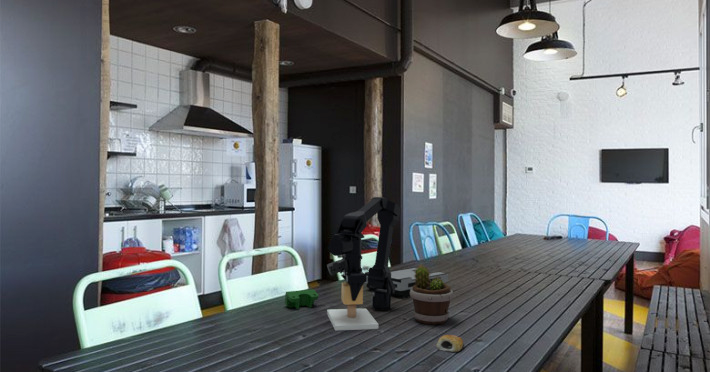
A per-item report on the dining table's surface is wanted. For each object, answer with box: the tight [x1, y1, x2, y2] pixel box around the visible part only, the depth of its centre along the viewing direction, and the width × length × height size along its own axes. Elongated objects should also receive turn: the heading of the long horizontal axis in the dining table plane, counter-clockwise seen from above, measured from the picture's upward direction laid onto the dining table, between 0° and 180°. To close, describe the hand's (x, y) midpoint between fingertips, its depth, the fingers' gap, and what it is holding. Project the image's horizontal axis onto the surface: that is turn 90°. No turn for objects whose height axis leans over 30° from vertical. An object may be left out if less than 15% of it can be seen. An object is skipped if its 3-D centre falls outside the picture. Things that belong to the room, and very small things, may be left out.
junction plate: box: [326, 304, 379, 332], centre depth 168 cm, size 14×20×6 cm
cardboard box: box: [340, 282, 364, 305], centre depth 168 cm, size 6×6×6 cm
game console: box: [364, 267, 449, 299], centre depth 219 cm, size 21×32×8 cm, turn 134°
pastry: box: [435, 334, 464, 353], centre depth 143 cm, size 9×7×4 cm
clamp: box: [284, 288, 319, 310], centre depth 185 cm, size 12×6×9 cm, turn 112°
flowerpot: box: [409, 262, 454, 325], centre depth 170 cm, size 14×15×20 cm
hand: (351, 298), depth 168 cm, fingers closed on cardboard box, 6 cm apart
